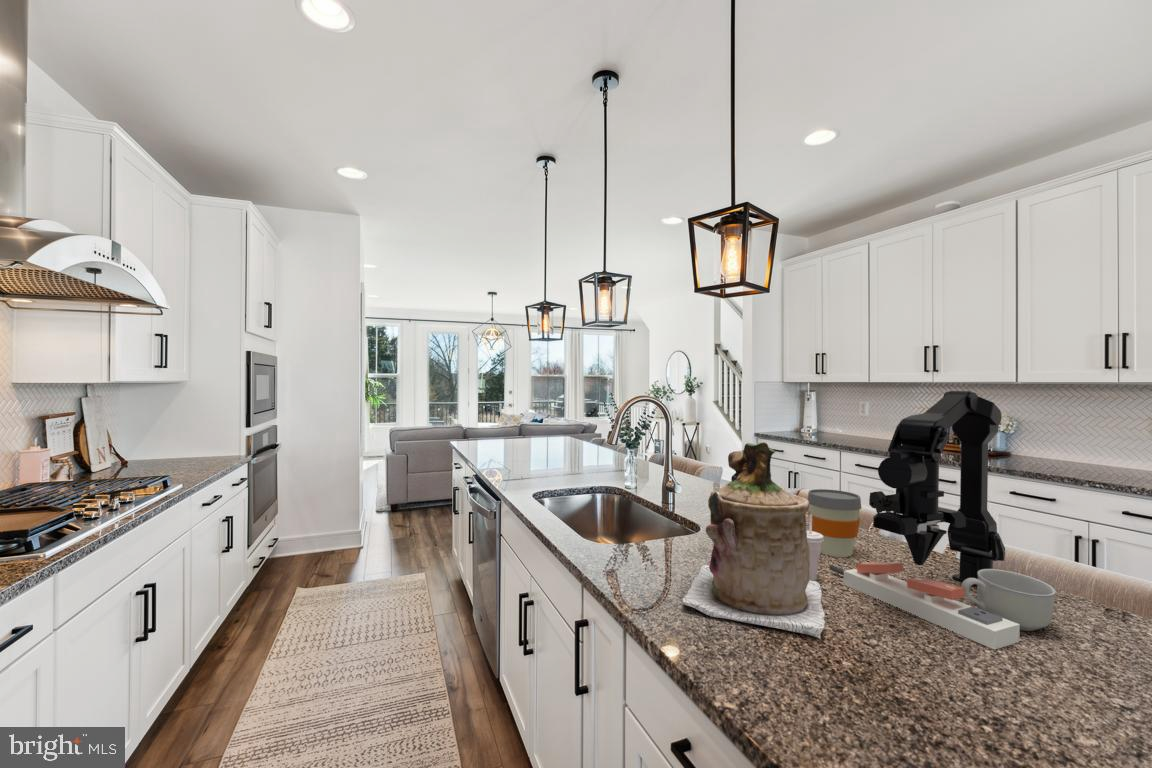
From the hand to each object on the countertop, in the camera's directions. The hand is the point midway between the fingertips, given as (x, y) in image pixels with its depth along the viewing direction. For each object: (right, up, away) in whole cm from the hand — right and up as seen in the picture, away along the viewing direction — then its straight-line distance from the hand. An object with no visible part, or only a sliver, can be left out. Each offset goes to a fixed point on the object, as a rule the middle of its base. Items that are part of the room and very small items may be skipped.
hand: (918, 564), depth 95 cm
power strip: (-1, -9, +2) cm, 9 cm away
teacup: (+12, -9, -4) cm, 16 cm away
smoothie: (-14, -9, +15) cm, 23 cm away
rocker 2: (+1, -3, -3) cm, 4 cm away
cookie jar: (-31, -8, +3) cm, 32 cm away
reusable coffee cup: (+1, -9, +34) cm, 35 cm away
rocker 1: (-3, -3, +8) cm, 9 cm away
